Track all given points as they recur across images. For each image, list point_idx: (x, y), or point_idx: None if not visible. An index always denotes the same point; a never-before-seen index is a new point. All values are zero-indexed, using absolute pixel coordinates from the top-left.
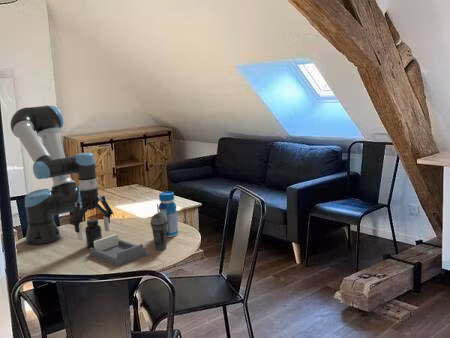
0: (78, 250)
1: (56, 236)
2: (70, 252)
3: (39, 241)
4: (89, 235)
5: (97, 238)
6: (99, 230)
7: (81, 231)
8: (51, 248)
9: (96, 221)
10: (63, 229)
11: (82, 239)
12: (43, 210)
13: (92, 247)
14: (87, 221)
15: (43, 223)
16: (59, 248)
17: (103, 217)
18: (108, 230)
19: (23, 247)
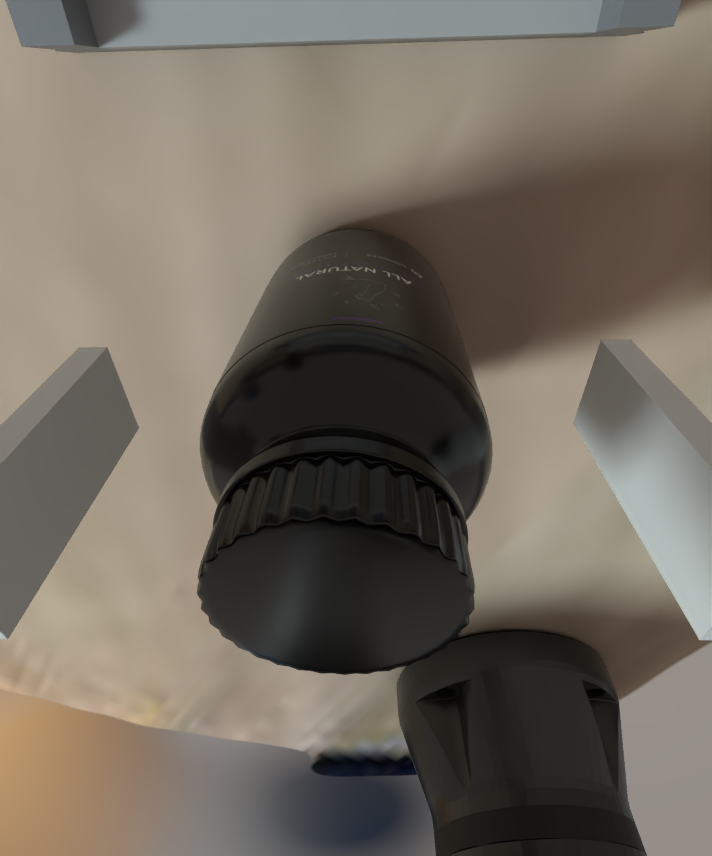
0: (544, 348)
1: (469, 664)
2: None
3: (592, 666)
4: (467, 362)
5: (358, 267)
6: (282, 331)
7: (681, 425)
8: (606, 555)
9: (279, 512)
10: (321, 718)
11: (604, 340)
12: None
13: (428, 263)
14: (459, 626)
15: (587, 822)
16: (580, 517)
17: (16, 619)
18: (92, 354)
19: (658, 665)
